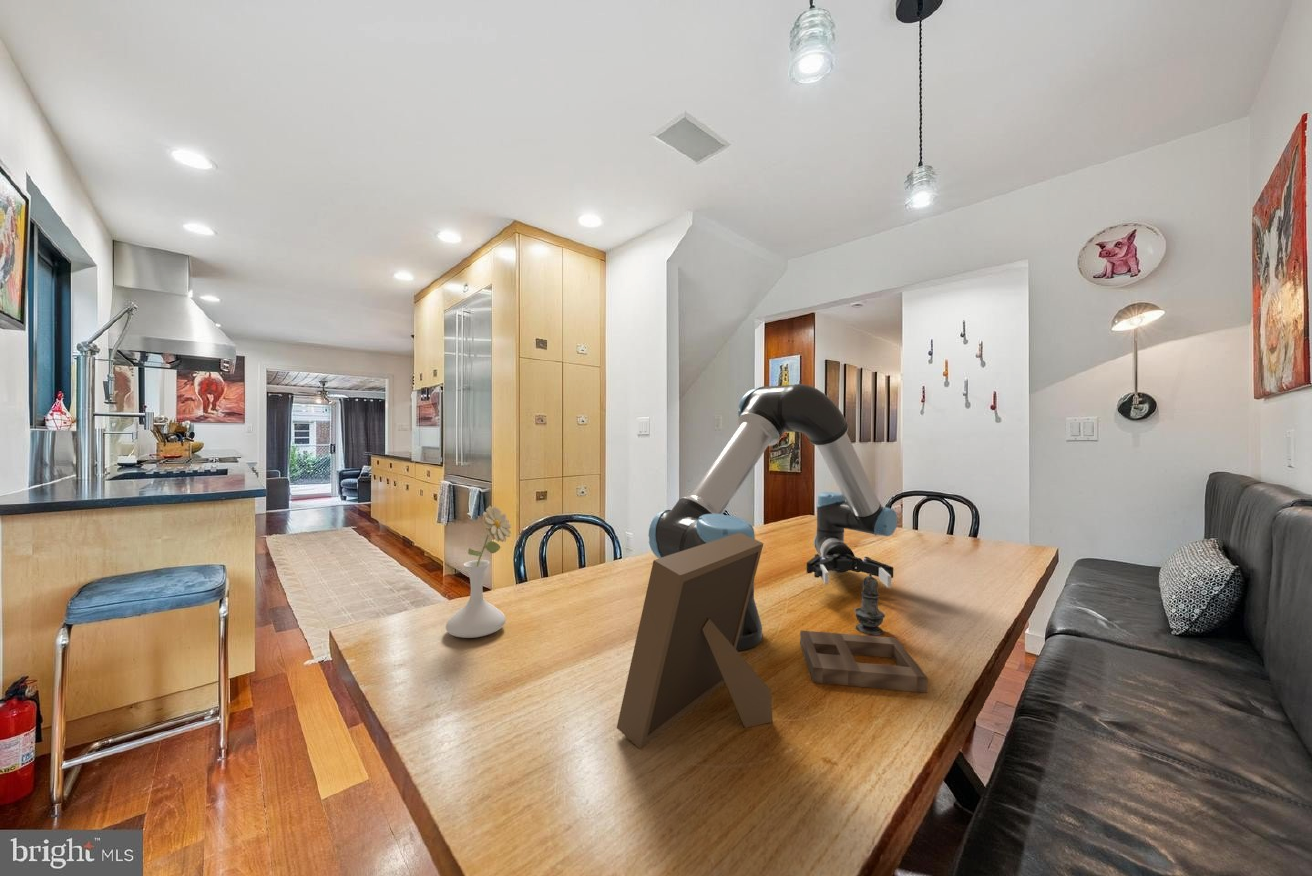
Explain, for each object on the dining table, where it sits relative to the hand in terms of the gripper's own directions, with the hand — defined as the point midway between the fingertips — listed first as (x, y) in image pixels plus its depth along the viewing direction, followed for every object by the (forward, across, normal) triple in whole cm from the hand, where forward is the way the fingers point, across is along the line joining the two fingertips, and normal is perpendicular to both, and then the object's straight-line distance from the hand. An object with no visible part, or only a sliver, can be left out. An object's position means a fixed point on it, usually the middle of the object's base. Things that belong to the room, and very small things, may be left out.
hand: (857, 580), depth 109 cm
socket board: (+26, +7, -7) cm, 28 cm away
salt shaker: (+10, 0, -8) cm, 12 cm away
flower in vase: (+25, +79, -7) cm, 83 cm away
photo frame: (+47, +32, -7) cm, 57 cm away
